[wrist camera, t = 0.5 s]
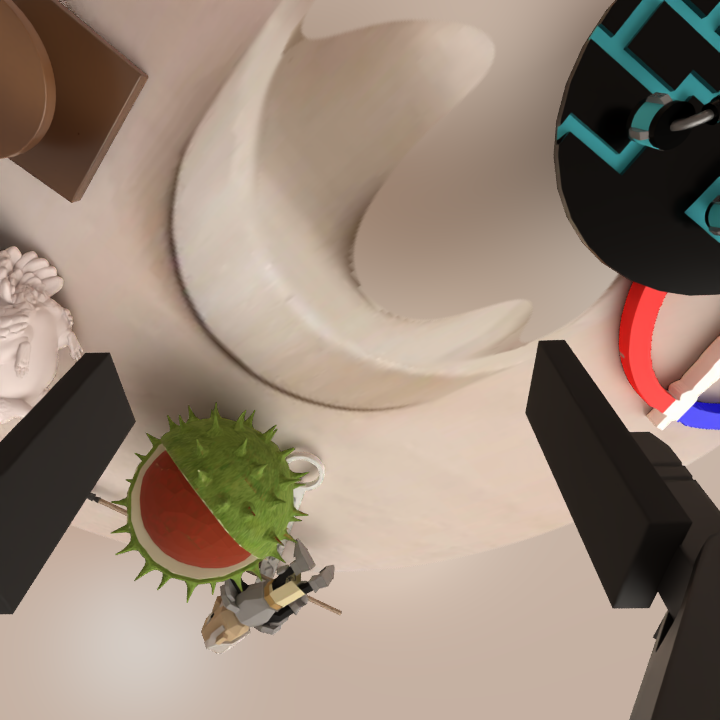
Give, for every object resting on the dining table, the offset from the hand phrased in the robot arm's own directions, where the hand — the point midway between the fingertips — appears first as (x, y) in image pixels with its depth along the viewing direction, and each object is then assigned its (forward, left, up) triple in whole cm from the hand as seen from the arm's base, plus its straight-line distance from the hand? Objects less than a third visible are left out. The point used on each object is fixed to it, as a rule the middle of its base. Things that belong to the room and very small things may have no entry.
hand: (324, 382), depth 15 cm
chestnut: (+14, +6, -18) cm, 24 cm away
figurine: (+20, -11, -18) cm, 29 cm away
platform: (-22, +15, -21) cm, 34 cm away
